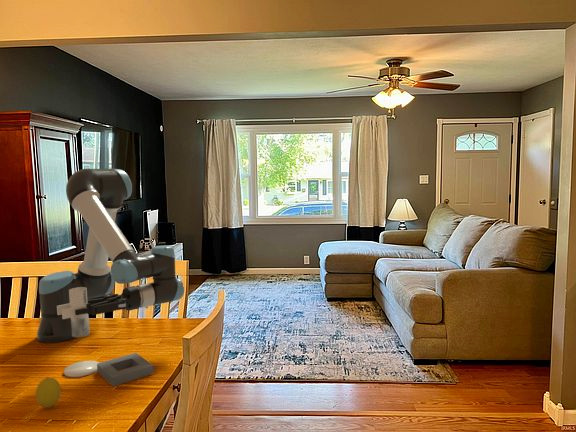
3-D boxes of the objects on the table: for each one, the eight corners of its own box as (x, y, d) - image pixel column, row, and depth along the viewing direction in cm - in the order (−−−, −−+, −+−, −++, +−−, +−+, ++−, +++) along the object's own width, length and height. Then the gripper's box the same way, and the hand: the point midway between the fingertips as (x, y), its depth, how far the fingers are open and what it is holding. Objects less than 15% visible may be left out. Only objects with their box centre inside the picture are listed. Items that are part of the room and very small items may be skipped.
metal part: (70, 334, 133) (66, 289, 132) (86, 330, 136) (83, 286, 135) (74, 338, 130) (71, 291, 128) (91, 334, 133) (88, 288, 132)
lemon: (51, 414, 109) (48, 383, 108) (31, 412, 110) (29, 381, 109) (66, 402, 114) (64, 373, 114) (48, 401, 115) (46, 371, 115)
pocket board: (97, 371, 133) (96, 363, 132) (136, 360, 140) (135, 352, 140) (112, 386, 123) (112, 377, 123) (153, 373, 131) (153, 365, 130)
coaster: (60, 369, 135) (60, 367, 135) (94, 360, 141) (94, 358, 141) (69, 380, 127) (69, 377, 127) (104, 370, 134) (104, 367, 134)
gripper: (149, 313, 138) (69, 332, 122) (127, 303, 151) (53, 318, 136) (148, 290, 137) (67, 305, 122) (126, 281, 150) (51, 294, 135)
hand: (60, 312), depth 129 cm, fingers closed on metal part, 5 cm apart
